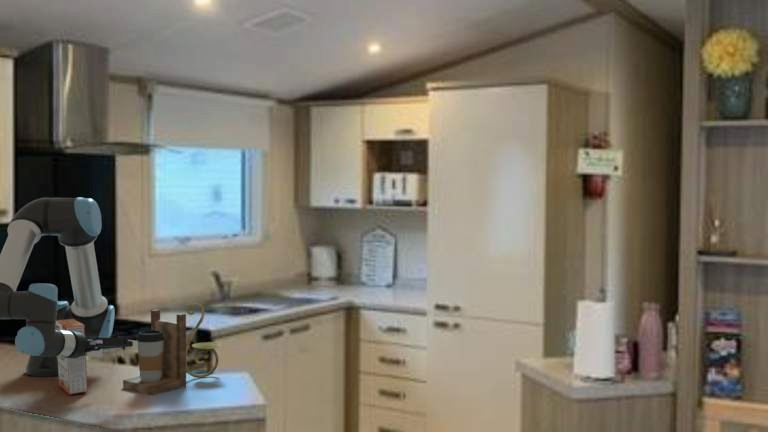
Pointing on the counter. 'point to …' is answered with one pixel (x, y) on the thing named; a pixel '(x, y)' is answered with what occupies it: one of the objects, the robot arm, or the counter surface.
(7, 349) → the counter surface
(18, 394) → the counter surface
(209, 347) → the wall sconce
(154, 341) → the coffee cup
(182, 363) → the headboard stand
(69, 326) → the cracker box
